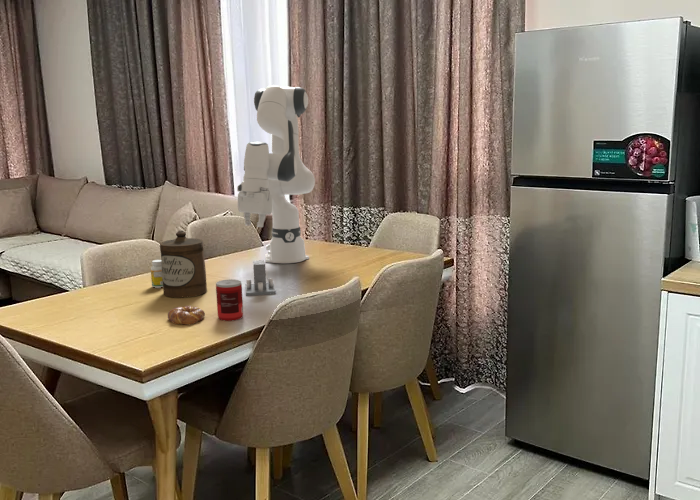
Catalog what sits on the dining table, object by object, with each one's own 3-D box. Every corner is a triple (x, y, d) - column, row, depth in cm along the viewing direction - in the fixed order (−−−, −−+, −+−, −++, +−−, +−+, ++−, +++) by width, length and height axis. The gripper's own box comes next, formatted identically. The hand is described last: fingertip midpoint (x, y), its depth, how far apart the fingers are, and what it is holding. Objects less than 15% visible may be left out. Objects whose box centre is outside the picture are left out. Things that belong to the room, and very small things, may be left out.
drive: (253, 285, 243) (252, 260, 241) (265, 284, 243) (264, 260, 242) (254, 290, 236) (253, 264, 234) (266, 289, 236) (265, 264, 235)
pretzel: (206, 324, 202) (205, 312, 201) (168, 328, 199) (167, 315, 198) (203, 313, 213) (202, 301, 213) (167, 316, 210) (166, 305, 210)
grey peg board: (245, 286, 245) (244, 276, 244) (273, 285, 247) (272, 274, 246) (246, 295, 233) (245, 284, 232) (275, 294, 234) (275, 282, 233)
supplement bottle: (165, 288, 246) (163, 262, 244) (150, 288, 246) (148, 262, 244) (168, 284, 251) (166, 259, 249) (154, 285, 251) (152, 259, 249)
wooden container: (154, 296, 235) (149, 233, 230) (179, 286, 248) (175, 226, 244) (191, 299, 230) (187, 235, 225) (215, 289, 243) (211, 228, 239)
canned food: (233, 312, 213) (231, 278, 211) (248, 317, 207) (246, 282, 205) (212, 317, 208) (210, 282, 206) (227, 322, 202) (225, 286, 200)
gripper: (277, 188, 235) (275, 228, 236) (250, 187, 252) (249, 224, 253) (261, 187, 232) (259, 227, 233) (235, 186, 248) (233, 224, 249)
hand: (253, 226), depth 243 cm, fingers open, 8 cm apart
